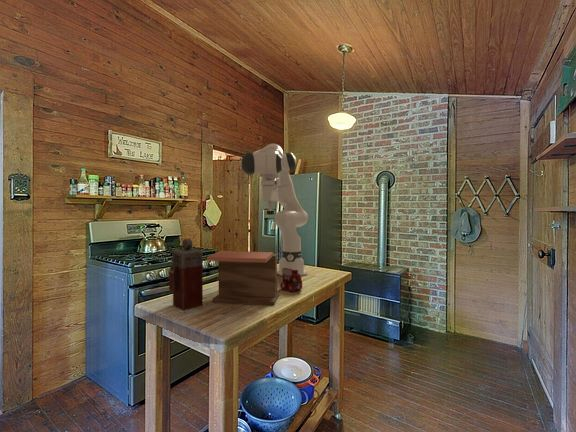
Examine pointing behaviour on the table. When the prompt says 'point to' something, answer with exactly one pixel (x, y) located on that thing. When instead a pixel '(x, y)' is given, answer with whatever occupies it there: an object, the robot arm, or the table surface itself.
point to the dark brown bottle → (186, 277)
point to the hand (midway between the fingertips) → (271, 210)
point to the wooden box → (248, 282)
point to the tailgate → (240, 256)
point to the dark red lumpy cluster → (291, 280)
